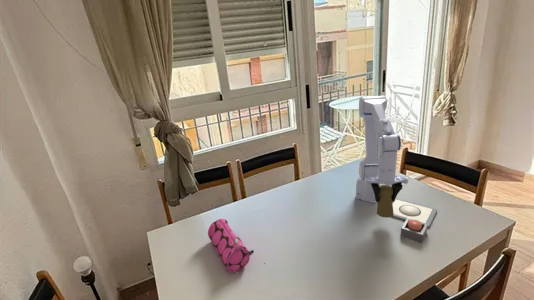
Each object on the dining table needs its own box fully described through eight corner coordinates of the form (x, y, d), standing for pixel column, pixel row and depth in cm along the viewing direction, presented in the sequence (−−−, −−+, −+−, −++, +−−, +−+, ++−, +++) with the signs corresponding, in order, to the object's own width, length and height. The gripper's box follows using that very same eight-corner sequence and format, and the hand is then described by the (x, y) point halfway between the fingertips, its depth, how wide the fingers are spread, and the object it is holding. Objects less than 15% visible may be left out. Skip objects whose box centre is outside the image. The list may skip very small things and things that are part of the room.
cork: (392, 209, 116) (393, 182, 113) (395, 217, 111) (396, 190, 107) (375, 208, 118) (375, 182, 114) (377, 217, 112) (377, 190, 109)
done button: (405, 230, 109) (406, 224, 108) (409, 223, 112) (410, 218, 111) (419, 234, 106) (420, 228, 106) (422, 227, 110) (423, 222, 109)
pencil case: (256, 265, 102) (253, 241, 98) (229, 278, 98) (225, 253, 94) (229, 232, 120) (226, 211, 116) (206, 242, 115) (202, 220, 111)
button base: (400, 236, 110) (401, 228, 108) (406, 226, 115) (407, 218, 113) (421, 243, 106) (422, 234, 104) (426, 232, 111) (427, 224, 109)
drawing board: (382, 213, 123) (382, 211, 123) (393, 199, 132) (393, 197, 132) (428, 228, 113) (429, 225, 112) (437, 210, 122) (437, 208, 121)
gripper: (368, 173, 105) (366, 207, 110) (412, 171, 103) (409, 206, 109) (363, 164, 111) (362, 197, 116) (405, 162, 110) (402, 195, 115)
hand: (384, 200), depth 113 cm, fingers closed on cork, 5 cm apart
